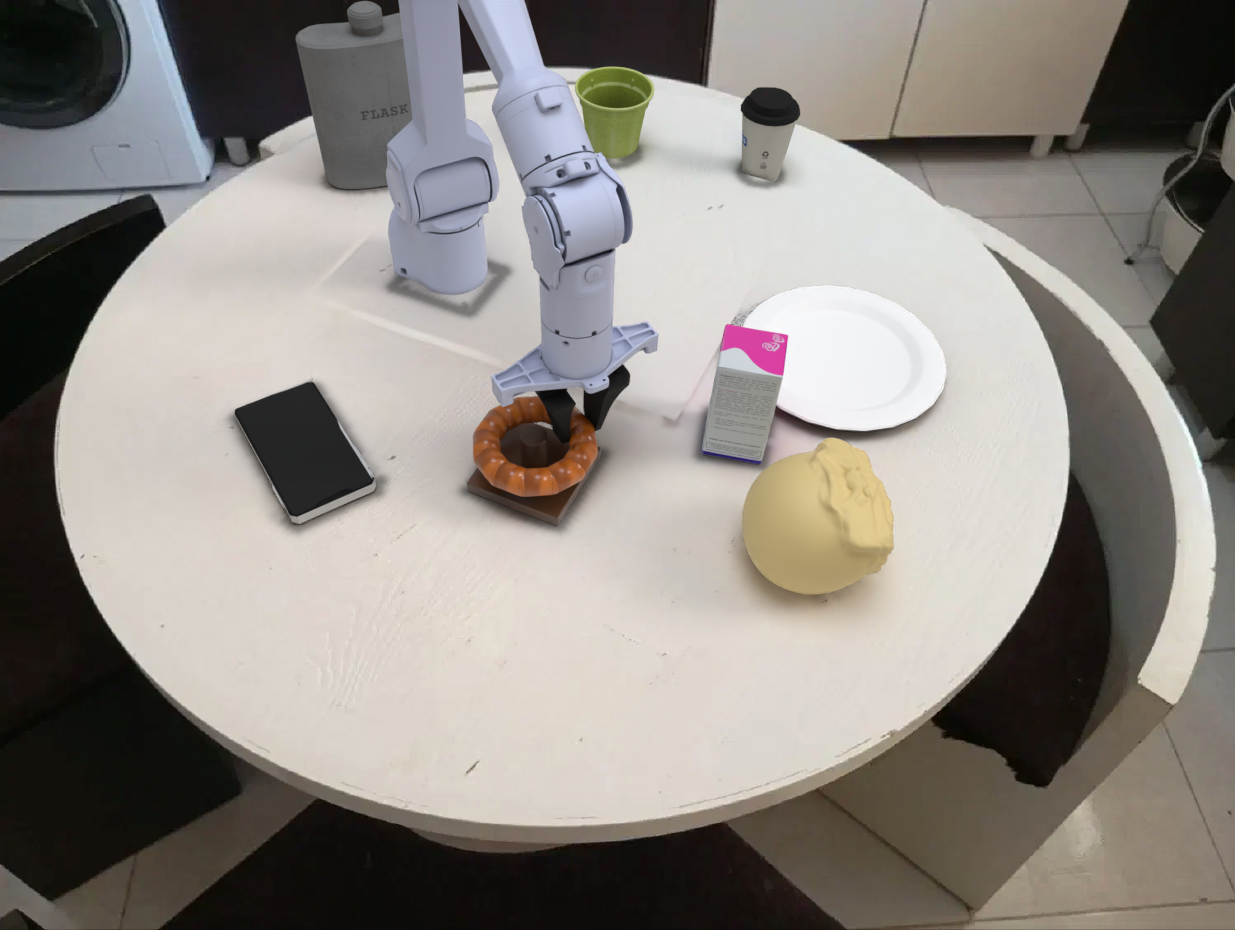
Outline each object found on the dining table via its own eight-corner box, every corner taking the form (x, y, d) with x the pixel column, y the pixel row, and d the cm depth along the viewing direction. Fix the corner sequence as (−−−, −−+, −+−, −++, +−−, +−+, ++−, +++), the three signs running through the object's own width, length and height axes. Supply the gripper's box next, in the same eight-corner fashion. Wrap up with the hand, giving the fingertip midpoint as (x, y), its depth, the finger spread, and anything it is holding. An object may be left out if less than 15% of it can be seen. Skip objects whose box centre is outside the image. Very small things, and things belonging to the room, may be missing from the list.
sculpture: (890, 608, 82) (926, 531, 74) (747, 616, 81) (767, 539, 73) (858, 499, 89) (887, 418, 81) (726, 504, 88) (742, 423, 80)
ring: (451, 476, 86) (448, 458, 84) (509, 394, 92) (508, 376, 90) (563, 518, 83) (563, 501, 81) (615, 431, 90) (616, 413, 88)
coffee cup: (798, 169, 122) (812, 94, 114) (772, 197, 118) (786, 121, 111) (747, 151, 124) (759, 76, 117) (721, 177, 120) (731, 102, 113)
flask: (333, 197, 115) (295, 30, 100) (323, 170, 119) (285, 4, 103) (457, 173, 119) (440, 8, 104) (444, 147, 123) (426, -16, 107)
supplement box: (763, 466, 91) (783, 378, 83) (699, 455, 92) (712, 366, 83) (769, 420, 95) (789, 332, 86) (708, 410, 96) (722, 321, 87)
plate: (777, 273, 109) (779, 261, 108) (964, 334, 104) (969, 322, 102) (703, 394, 97) (705, 382, 96) (911, 470, 92) (916, 459, 90)
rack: (467, 491, 88) (462, 453, 84) (514, 423, 94) (512, 385, 90) (557, 526, 86) (557, 489, 82) (601, 455, 92) (602, 417, 88)
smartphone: (313, 378, 95) (378, 480, 87) (315, 387, 96) (380, 489, 88) (230, 410, 92) (290, 519, 84) (234, 419, 93) (293, 528, 85)
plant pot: (664, 147, 124) (669, 82, 118) (624, 183, 119) (627, 117, 112) (601, 123, 127) (603, 58, 121) (559, 157, 122) (559, 91, 115)
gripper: (514, 376, 73) (522, 489, 84) (681, 316, 78) (669, 431, 89) (475, 318, 77) (487, 434, 88) (637, 265, 82) (630, 380, 92)
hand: (576, 429), depth 88 cm, fingers closed on ring, 3 cm apart
